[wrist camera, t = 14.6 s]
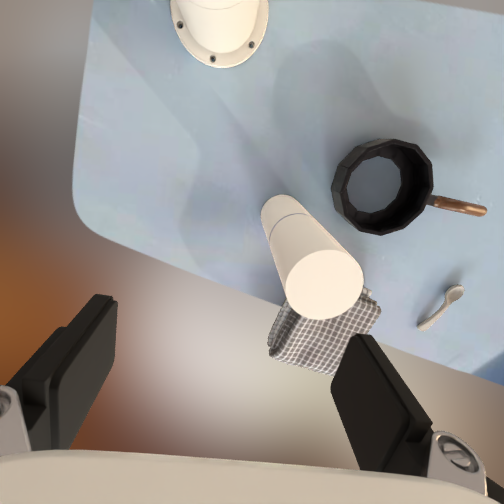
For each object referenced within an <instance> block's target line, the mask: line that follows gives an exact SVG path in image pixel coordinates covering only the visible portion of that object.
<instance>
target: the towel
mask: <svg viewBox="0 0 504 504" xmlns="http://www.w3.org/2000/svg"><path fill="white" fill-rule="evenodd" d="M371 293H372V291H371V290H370V289H367V288H364V287H363V288H362V291H361V294H360V296H359V298H358V299H357V301H356V302H355V303H354V304H353V306H352V307H351V308H349V309H348V310H347V311H346V312H344V313H342V314H340V315H338V316H336V317H333V318H329V319H324V320H315V319H309V318H307V317H304V316H302V315H300V314H298V313H297V312H296V311H295V310H294V309H293V308H292V307H291V306H290V304H289V303H288V300H287V297H286V299H285V302H284V303H283V306H282V308H281V310H280V312H279V313H278V316H277V318H276V320H275V322H274V324H273V326H272V329H271V332H270V333H269V336H268V342H267V343H268V346H270V349H269V355H270V356H271V357H272V358H275V359H276V360H280V361H281V362H285V363H286V364H291V365H295V366H298V367H303V368H308V369H310V370H313V371H315V372H319V373H323V374H326V375H330V376H335V373H336V371H337V368H338V366H339V364H340V361H341V359H342V356H343V354H344V352H345V349H346V347H347V344H348V342H349V340H350V338H351V336H354V335H355V334H356V333H361V334H367V333H368V332H369V329H370V328H371V327H372V326H373V324H374V323H375V321H376V319H378V317H379V315H380V313H381V309H380V307H379V306H377V302H376V301H374V300H372V299H370V298H369V296H370V295H371Z"/></svg>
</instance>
